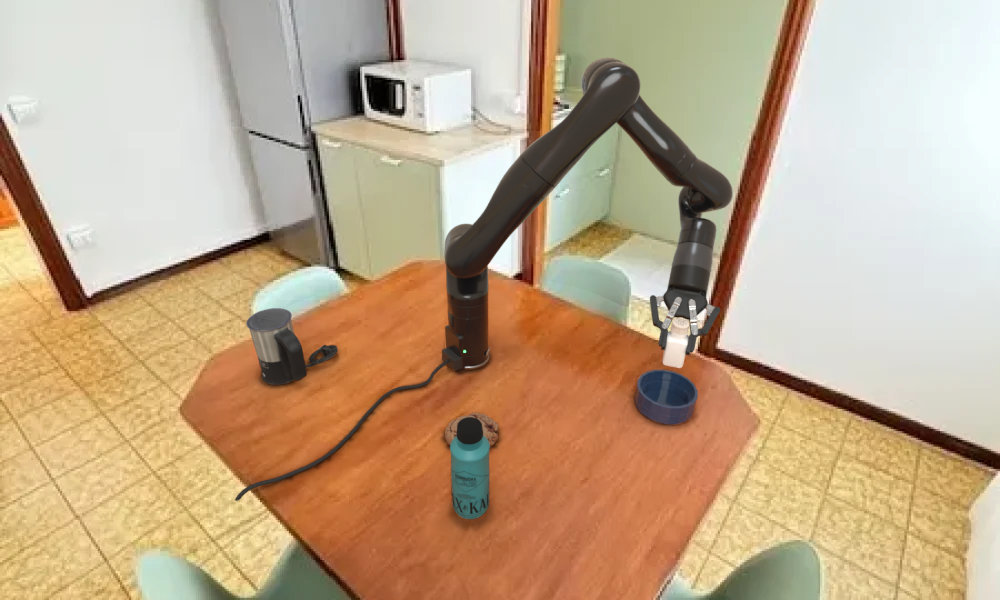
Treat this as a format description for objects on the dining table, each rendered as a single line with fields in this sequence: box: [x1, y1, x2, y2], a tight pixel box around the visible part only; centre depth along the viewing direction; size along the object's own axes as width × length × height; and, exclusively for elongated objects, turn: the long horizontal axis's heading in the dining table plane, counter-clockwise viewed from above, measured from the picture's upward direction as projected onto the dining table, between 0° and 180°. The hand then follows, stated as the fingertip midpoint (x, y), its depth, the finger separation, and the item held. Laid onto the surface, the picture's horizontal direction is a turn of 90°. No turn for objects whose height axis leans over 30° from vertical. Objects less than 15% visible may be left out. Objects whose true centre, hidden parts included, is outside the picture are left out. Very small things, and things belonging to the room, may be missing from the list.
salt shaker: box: [662, 318, 690, 369], centre depth 107 cm, size 4×4×10 cm
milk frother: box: [245, 307, 339, 386], centre depth 122 cm, size 14×16×15 cm
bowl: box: [633, 369, 699, 425], centre depth 114 cm, size 12×12×5 cm
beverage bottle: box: [449, 417, 491, 520], centre depth 87 cm, size 6×7×20 cm
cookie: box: [444, 412, 500, 448], centre depth 106 cm, size 10×11×3 cm
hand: (675, 351), depth 105 cm, fingers closed on salt shaker, 4 cm apart
